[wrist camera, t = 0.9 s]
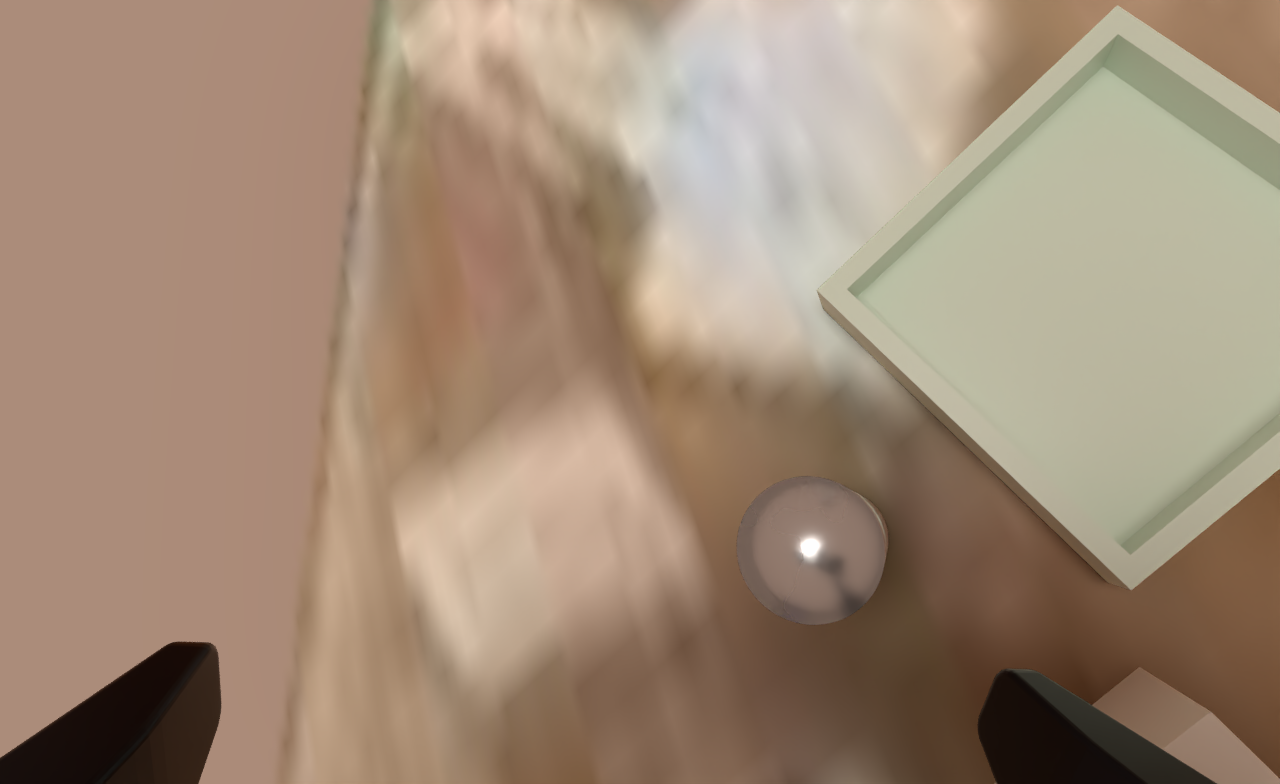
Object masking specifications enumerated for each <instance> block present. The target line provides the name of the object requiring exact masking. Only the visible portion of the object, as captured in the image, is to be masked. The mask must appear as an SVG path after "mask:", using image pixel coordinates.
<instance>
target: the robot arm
mask: <svg viewBox="0 0 1280 784" xmlns="http://www.w3.org/2000/svg"><path fill="white" fill-rule="evenodd" d="M220 714H221V690H220V674H219V658H218V652H217V649H216V647H215V646H214V645H213V644H211V643H206V642H173V643H170V644H168V645H166V646H164V647H163V648H161V649H160V650H158V651H157V652H155V653H154V654H153V655H151V656H149V657H148V658H147V659H145V660H144V661H142V662H141V663H139V664H138V665H136V666H135V667H133V668H132V669H130V670H129V671H127V672H126V673H124V674H123V675H122V676H120V677H119V678H117V679H116V680H114V681H113V682H111V683H110V684H108V685H107V686H105V687H104V688H102V689H101V690H99V691H98V692H96V693H95V694H94V695H92V696H91V697H89V698H88V699H86V700H85V701H83V702H82V703H80V704H79V705H77V706H76V707H74V708H73V709H72V710H70V711H69V712H67V713H66V714H64V715H63V716H61V717H60V718H58V719H57V720H55V721H54V722H52V723H51V724H49V725H48V726H47V727H45V728H44V729H42V730H41V731H39V732H38V733H36V734H35V735H33V736H32V737H30V738H29V739H27V740H26V741H24V742H23V743H22V744H20V745H19V746H17V747H16V748H14V749H13V750H11V751H10V752H8V753H7V754H5V755H4V756H2V757H1V758H0V784H198V783H199V780H200V777H201V774H202V772H203V769H204V765H205V763H206V759H207V757H208V754H209V751H210V748H211V745H212V742H213V739H214V736H215V733H216V731H217V727H218V724H219V719H220ZM978 734H979V739H980V742H981V744H982V747H983V750H984V752H985V755H986V757H987V760H988V762H989V765H990V767H991V770H992V773H993V775H994V778H995V780H996V783H997V784H1217V783H1215V782H1214V781H1212V780H1211V779H1209V778H1207V777H1206V776H1204V775H1203V774H1201V773H1199V772H1198V771H1196V770H1195V769H1193V768H1191V767H1190V766H1188V765H1187V764H1185V763H1183V762H1182V761H1180V760H1179V759H1177V758H1175V757H1174V756H1172V755H1171V754H1169V753H1167V752H1166V751H1164V750H1163V749H1161V748H1159V747H1158V746H1156V745H1155V744H1153V743H1151V742H1150V741H1148V740H1147V739H1145V738H1143V737H1142V736H1140V735H1139V734H1137V733H1135V732H1134V731H1132V730H1131V729H1129V728H1127V727H1126V726H1124V725H1123V724H1121V723H1119V722H1118V721H1116V720H1115V719H1113V718H1111V717H1110V716H1108V715H1107V714H1105V713H1103V712H1102V711H1100V710H1099V709H1097V708H1095V707H1094V706H1092V705H1091V704H1089V703H1087V702H1086V701H1084V700H1083V699H1081V698H1079V697H1078V696H1076V695H1075V694H1073V693H1071V692H1070V691H1068V690H1067V689H1065V688H1063V687H1062V686H1060V685H1059V684H1057V683H1055V682H1054V681H1052V680H1051V679H1049V678H1047V677H1046V676H1044V675H1043V674H1041V673H1039V672H1037V671H1034V670H1030V669H1003V670H1001V671H1000V672H999V673H998V674H997V675H996V676H995V678H994V681H993V683H992V686H991V688H990V691H989V693H988V696H987V698H986V700H985V703H984V705H983V708H982V710H981V713H980V715H979V719H978Z"/></svg>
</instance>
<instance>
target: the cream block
mask: <svg viewBox="0 0 1280 784" xmlns="http://www.w3.org/2000/svg"><path fill="white" fill-rule="evenodd" d="M1092 706H1094V707H1095V708H1097V709H1099V710H1100V711H1102V712H1103V713H1105V714H1107V715H1108V716H1110V717H1111V718H1113V719H1115V720H1116V721H1118V722H1119V723H1121V724H1123V725H1124V726H1126V727H1127V728H1129V729H1131V730H1132V731H1134V732H1135V733H1137V734H1139V735H1140V736H1142V737H1143V738H1145V739H1147V740H1148V741H1150V742H1151V743H1153V744H1155V745H1156V746H1158V747H1159V748H1161V749H1163V750H1164V751H1166V752H1167V753H1169V754H1171V755H1172V756H1174V757H1175V758H1177V759H1179V760H1180V761H1182V762H1183V763H1185V764H1187V765H1188V766H1190V767H1191V768H1193V769H1195V770H1196V771H1198V772H1199V773H1201V774H1203V775H1204V776H1206V777H1207V778H1209V779H1211V780H1212V781H1214V782H1215V783H1217V784H1280V778H1278V777H1277V776H1276V775H1275V774H1274V773H1273V772H1272V771H1271V770H1270V769H1269V768H1268V767H1267V766H1266V765H1265V764H1264V763H1263V762H1262V761H1261V760H1260V759H1259V758H1258V757H1257V756H1256V755H1255V754H1254V753H1253V752H1252V751H1251V750H1250V749H1249V748H1248V747H1247V746H1246V745H1245V744H1244V743H1243V742H1242V741H1241V740H1240V739H1239V738H1238V737H1236V736H1235V735H1234V734H1233V733H1232V732H1231V731H1230V730H1229V729H1228V728H1227V727H1226V726H1225V725H1224V724H1223V723H1222V722H1221V721H1220V720H1219V719H1218V718H1217V717H1216V716H1215V715H1214V714H1213V713H1212V712H1211V711H1209V710H1208V709H1206V708H1205V707H1203V706H1201V705H1200V704H1198V703H1197V702H1195V701H1193V700H1192V699H1190V698H1189V697H1187V696H1185V695H1184V694H1182V693H1181V692H1179V691H1177V690H1176V689H1174V688H1173V687H1171V686H1169V685H1168V684H1166V683H1165V682H1163V681H1161V680H1160V679H1158V678H1157V677H1155V676H1153V675H1152V674H1150V673H1149V672H1147V671H1145V670H1144V669H1142V668H1141V667H1139V668H1137V669H1136V670H1135V671H1134V672H1132V673H1131V674H1130V675H1129V676H1127V677H1126V678H1125V679H1124V680H1122V681H1121V682H1120V683H1119V684H1117V685H1116V686H1115V687H1114V688H1112V689H1111V690H1110V691H1109V692H1107V693H1106V694H1105V695H1104V696H1103V697H1101V698H1100V699H1099V700H1098V701H1096V702H1095V703H1094V704H1093V705H1092ZM994 784H997V783H996V782H995V783H994Z"/></svg>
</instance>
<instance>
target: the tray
mask: <svg viewBox="0 0 1280 784" xmlns="http://www.w3.org/2000/svg"><path fill="white" fill-rule="evenodd" d="M817 293H818V295H819V298H820V301H821V304H822V307H823V309H824V310H825V311H826V312H827V313H828V314H829V315H830V316H831V317H832V318H833V319H834V320H835V321H836V322H837V323H838V324H839V325H841V326H842V327H843V328H844V329H845V330H846V331H847V332H848V333H849V334H850V335H851V336H852V337H853V338H854V339H855V340H856V341H857V342H858V343H859V344H860V345H861V346H862V347H863V348H864V349H865V350H866V351H868V352H869V353H870V354H871V355H872V356H873V357H874V358H875V359H876V360H877V361H878V362H879V363H880V364H881V365H882V366H883V367H884V368H885V369H886V370H887V371H888V372H889V373H890V374H891V375H892V376H894V377H895V378H896V379H897V380H898V381H899V382H900V383H901V384H902V385H903V386H904V387H905V388H906V389H907V390H908V391H909V392H910V393H911V394H912V395H913V396H914V397H915V398H916V399H917V400H918V401H920V402H921V403H922V404H923V405H924V406H925V407H926V408H927V409H928V410H929V411H930V412H931V413H932V414H933V415H934V416H935V417H936V418H937V419H938V420H939V421H940V422H941V423H942V424H943V425H944V426H946V427H947V428H948V429H949V430H950V431H951V432H952V433H953V434H954V435H955V436H956V437H957V438H958V439H959V440H960V441H961V442H962V443H963V444H964V445H965V446H966V447H967V448H968V449H969V450H970V451H971V452H973V453H974V454H975V455H976V456H977V457H978V458H979V459H980V460H981V461H982V462H983V463H984V464H985V465H986V466H987V467H988V468H989V469H990V470H991V471H992V472H993V473H994V474H995V475H996V476H997V477H999V478H1000V479H1001V480H1002V481H1003V482H1004V483H1005V484H1006V485H1007V486H1008V487H1009V488H1010V489H1011V490H1012V491H1013V492H1014V493H1015V494H1016V495H1017V496H1018V497H1019V498H1020V499H1021V500H1022V501H1023V502H1025V503H1026V504H1027V505H1028V506H1029V507H1030V508H1031V509H1032V510H1033V511H1034V512H1035V513H1036V514H1037V515H1038V516H1039V517H1040V518H1041V519H1042V520H1043V521H1044V522H1045V523H1046V524H1047V525H1048V526H1049V527H1051V528H1052V529H1053V530H1054V531H1055V532H1056V533H1057V534H1058V535H1059V536H1060V537H1061V538H1062V539H1063V540H1064V541H1065V542H1066V543H1067V544H1068V545H1069V546H1070V547H1071V548H1072V549H1073V550H1074V551H1075V552H1076V553H1078V554H1079V555H1080V556H1081V557H1082V558H1083V559H1084V560H1085V561H1086V562H1087V563H1088V564H1089V565H1090V566H1091V567H1092V568H1093V569H1094V570H1095V571H1096V572H1097V573H1098V574H1099V575H1100V576H1101V577H1102V578H1104V579H1105V580H1106V581H1107V582H1108V583H1110V584H1113V585H1116V586H1120V587H1123V588H1126V589H1129V590H1132V589H1134V588H1135V587H1136V586H1137V585H1138V584H1140V583H1141V582H1142V581H1143V580H1144V579H1146V578H1147V577H1148V576H1149V575H1151V574H1152V573H1153V572H1154V571H1155V570H1157V569H1158V568H1159V567H1160V566H1162V565H1163V564H1164V563H1165V562H1166V561H1168V560H1169V559H1170V558H1171V557H1173V556H1174V555H1175V554H1176V553H1177V552H1179V551H1180V550H1181V549H1182V548H1183V547H1185V546H1186V545H1187V544H1188V543H1190V542H1191V541H1192V540H1193V539H1194V538H1196V537H1197V536H1198V535H1199V534H1201V533H1202V532H1203V531H1204V530H1205V529H1207V528H1208V527H1209V526H1210V525H1212V524H1213V523H1214V522H1215V521H1216V520H1218V519H1219V518H1220V517H1221V516H1223V515H1224V514H1225V513H1226V512H1227V511H1229V510H1230V509H1231V508H1232V507H1233V506H1235V505H1236V504H1237V503H1238V502H1240V501H1241V500H1242V499H1243V498H1244V497H1246V496H1247V495H1248V494H1249V493H1251V492H1252V491H1253V490H1254V489H1255V488H1257V487H1258V486H1259V485H1260V484H1262V483H1263V482H1264V481H1265V480H1266V479H1268V478H1269V477H1270V476H1271V475H1272V474H1274V473H1275V472H1276V471H1277V470H1279V469H1280V113H1279V112H1277V111H1276V110H1274V109H1273V108H1271V107H1270V106H1268V105H1267V104H1265V103H1264V102H1262V101H1261V100H1259V99H1258V98H1256V97H1255V96H1253V95H1252V94H1250V93H1249V92H1247V91H1246V90H1244V89H1243V88H1241V87H1240V86H1238V85H1237V84H1235V83H1234V82H1232V81H1231V80H1229V79H1228V78H1226V77H1225V76H1223V75H1222V74H1220V73H1219V72H1217V71H1216V70H1214V69H1213V68H1211V67H1210V66H1208V65H1207V64H1205V63H1204V62H1202V61H1201V60H1199V59H1198V58H1196V57H1195V56H1193V55H1192V54H1190V53H1189V52H1187V51H1186V50H1184V49H1182V48H1181V47H1179V46H1178V45H1176V44H1175V43H1173V42H1172V41H1170V40H1169V39H1167V38H1166V37H1164V36H1163V35H1161V34H1160V33H1158V32H1157V31H1155V30H1154V29H1152V28H1151V27H1149V26H1148V25H1146V24H1145V23H1143V22H1142V21H1140V20H1139V19H1137V18H1136V17H1134V16H1133V15H1131V14H1130V13H1128V12H1127V11H1125V10H1124V9H1122V8H1121V7H1119V6H1118V5H1117V6H1116V7H1115V8H1114V9H1113V10H1112V11H1111V12H1110V13H1109V14H1108V15H1107V16H1105V17H1104V18H1103V19H1102V20H1101V21H1100V22H1099V23H1098V24H1097V25H1096V26H1095V27H1094V28H1093V29H1092V30H1091V31H1090V32H1089V33H1088V34H1086V35H1085V36H1084V37H1083V38H1082V39H1081V40H1080V41H1079V42H1078V43H1077V44H1076V45H1075V46H1074V47H1073V48H1072V49H1071V50H1070V51H1069V52H1067V53H1066V54H1065V55H1064V56H1063V57H1062V58H1061V59H1060V60H1059V61H1058V62H1057V63H1056V64H1055V65H1054V66H1053V67H1052V68H1051V69H1050V70H1048V71H1047V72H1046V73H1045V74H1044V75H1043V76H1042V77H1041V78H1040V79H1039V80H1038V81H1037V82H1036V83H1035V84H1034V85H1033V86H1032V87H1030V88H1029V89H1028V90H1027V91H1026V92H1025V93H1024V94H1023V95H1022V96H1021V97H1020V98H1019V99H1018V100H1017V101H1016V102H1015V103H1014V104H1013V105H1011V106H1010V107H1009V108H1008V109H1007V110H1006V111H1005V112H1004V113H1003V114H1002V115H1001V116H1000V117H999V118H998V119H997V120H996V121H995V122H994V123H992V124H991V125H990V126H989V127H988V128H987V129H986V130H985V131H984V132H983V133H982V134H981V135H980V136H979V137H978V138H977V139H976V140H975V141H973V142H972V143H971V144H970V145H969V146H968V147H967V148H966V149H965V150H964V151H963V152H962V153H961V154H960V155H959V156H958V157H957V158H956V159H954V160H953V161H952V162H951V163H950V164H949V165H948V166H947V167H946V168H945V169H944V170H943V171H942V172H941V173H940V174H939V175H938V176H937V177H935V178H934V179H933V180H932V181H931V182H930V183H929V184H928V185H927V186H926V187H925V188H924V189H923V190H922V191H921V192H920V193H919V194H917V195H916V196H915V197H914V198H913V199H912V200H911V201H910V202H909V203H908V204H907V205H906V206H905V207H904V208H903V209H902V210H901V211H900V212H898V213H897V214H896V215H895V216H894V217H893V218H892V219H891V220H890V221H889V222H888V223H887V224H886V225H885V226H884V227H883V228H882V229H881V230H879V231H878V232H877V233H876V234H875V235H874V236H873V237H872V238H871V239H870V240H869V241H868V242H867V243H866V244H865V245H864V246H863V247H862V248H860V249H859V250H858V251H857V252H856V253H855V254H854V255H853V256H852V257H851V258H850V259H849V260H848V261H847V262H846V263H845V264H844V265H843V266H841V267H840V268H839V269H838V270H837V271H836V272H835V273H834V274H833V275H832V276H831V277H830V278H829V279H828V280H827V281H826V282H825V283H824V284H822V285H821V286H820V287H819V288H818V289H817Z"/></svg>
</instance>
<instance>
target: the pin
mask: <svg viewBox="0 0 1280 784" xmlns="http://www.w3.org/2000/svg"><path fill="white" fill-rule="evenodd" d="M888 545H889V533H888V528H887V525H886V522H885V519H884V517H883V515H882V514H881V512H880V511H879V509H878V508H877V507H876V506H875V505H874V504H873V503H872V502H871V501H870V500H868V499H867V498H865V497H864V496H862V495H860V494H858V493H856V492H854V491H852V490H851V489H849V488H847V487H845V486H843V485H841V484H839V483H837V482H834V481H832V480H829V479H825V478H821V477H812V476H802V477H795V478H790V479H786V480H783V481H781V482H778V483H776V484H774V485H772V486H771V487H769V488H767V489H766V490H765V491H763V492H762V493H761V494H760V495H759V496H758V497H757V498H756V499H755V500H754V501H753V502H752V503H751V505H750V506H749V507H748V509H747V511H746V513H745V514H744V516H743V519H742V521H741V524H740V527H739V531H738V536H737V557H738V563H739V567H740V571H741V573H742V576H743V578H744V581H745V582H746V584H747V586H748V588H749V589H750V591H751V592H752V593H753V595H754V596H755V597H756V598H757V599H758V600H759V601H760V603H761V604H762V605H764V606H765V607H766V608H767V609H769V610H770V611H772V612H773V613H775V614H776V615H778V616H780V617H782V618H784V619H787V620H789V621H793V622H796V623H801V624H807V625H820V624H828V623H833V622H836V621H839V620H842V619H844V618H846V617H848V616H850V615H852V614H853V613H855V612H856V611H857V610H859V609H860V608H861V607H862V606H863V605H864V604H865V603H866V602H867V601H868V600H869V599H870V597H871V596H872V595H873V593H874V592H875V590H876V588H877V586H878V584H879V582H880V579H881V577H882V573H883V569H884V564H885V560H886V555H887V550H888Z"/></svg>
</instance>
